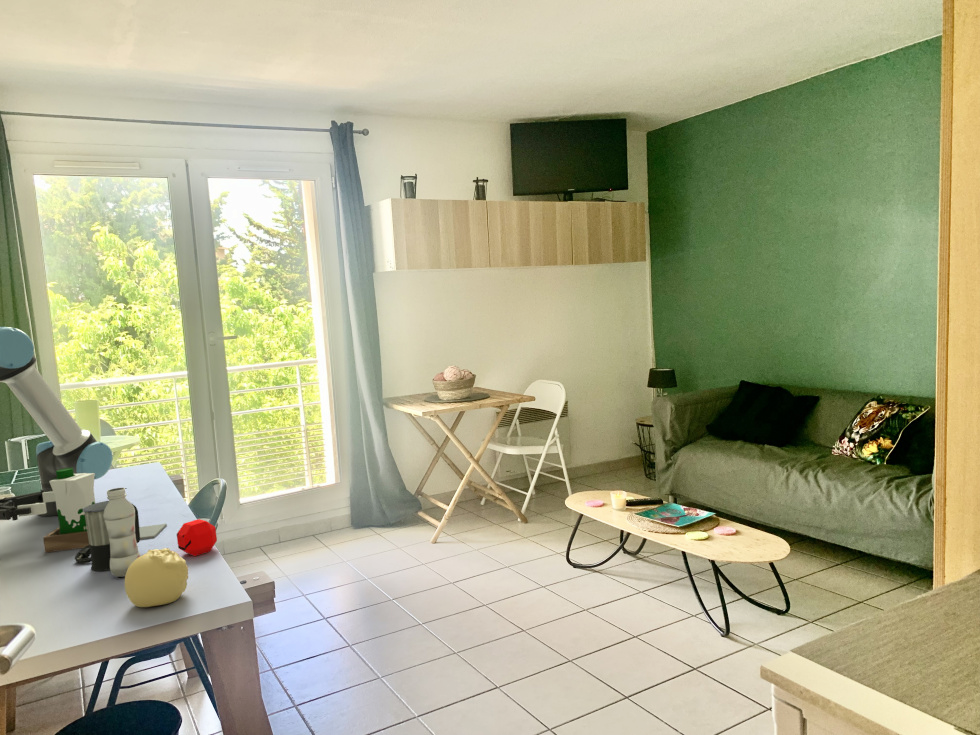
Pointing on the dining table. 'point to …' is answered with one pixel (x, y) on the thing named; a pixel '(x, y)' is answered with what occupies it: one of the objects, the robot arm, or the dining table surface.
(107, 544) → the milk frother
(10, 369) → the robot arm
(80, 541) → the holder
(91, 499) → the soya milk
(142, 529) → the mat
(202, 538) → the ball
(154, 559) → the pale yellow rounded lump
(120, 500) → the plastic bottle
